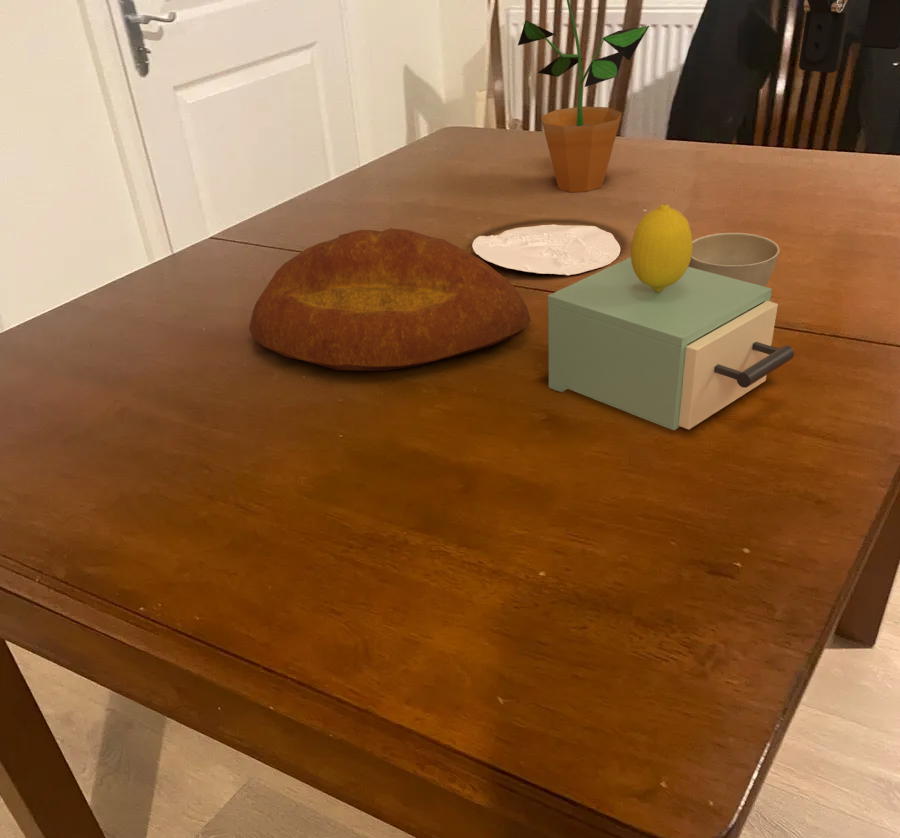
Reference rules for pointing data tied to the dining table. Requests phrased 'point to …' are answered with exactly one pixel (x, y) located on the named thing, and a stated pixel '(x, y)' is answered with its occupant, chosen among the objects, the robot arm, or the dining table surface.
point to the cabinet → (637, 335)
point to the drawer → (729, 363)
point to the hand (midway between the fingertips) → (850, 58)
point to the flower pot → (736, 256)
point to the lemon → (661, 247)
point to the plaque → (549, 249)
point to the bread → (385, 303)
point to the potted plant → (583, 111)
